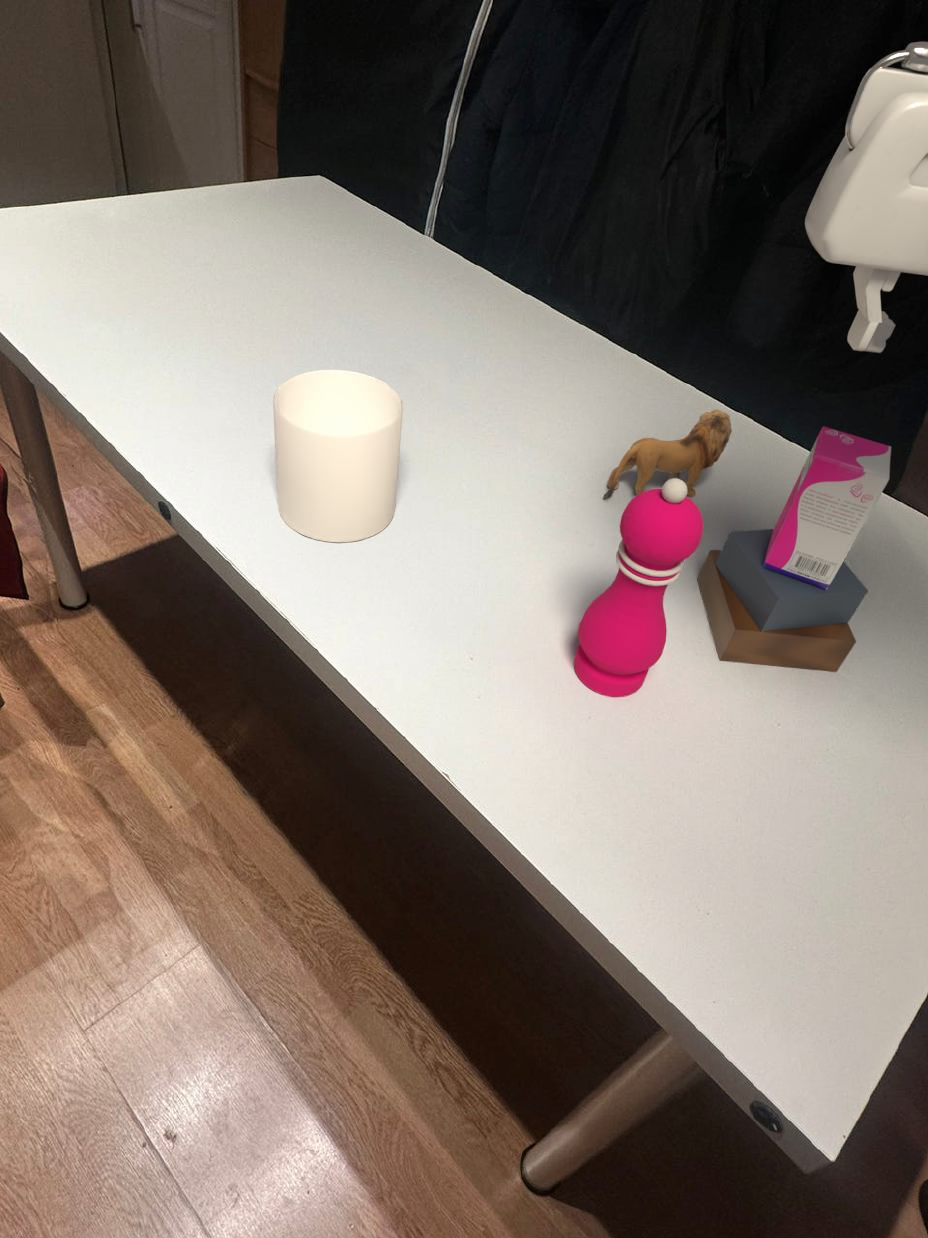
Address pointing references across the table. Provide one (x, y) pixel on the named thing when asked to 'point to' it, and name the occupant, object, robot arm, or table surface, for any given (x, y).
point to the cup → (337, 454)
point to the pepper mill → (638, 591)
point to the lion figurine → (677, 453)
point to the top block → (784, 587)
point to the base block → (775, 648)
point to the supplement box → (828, 507)
